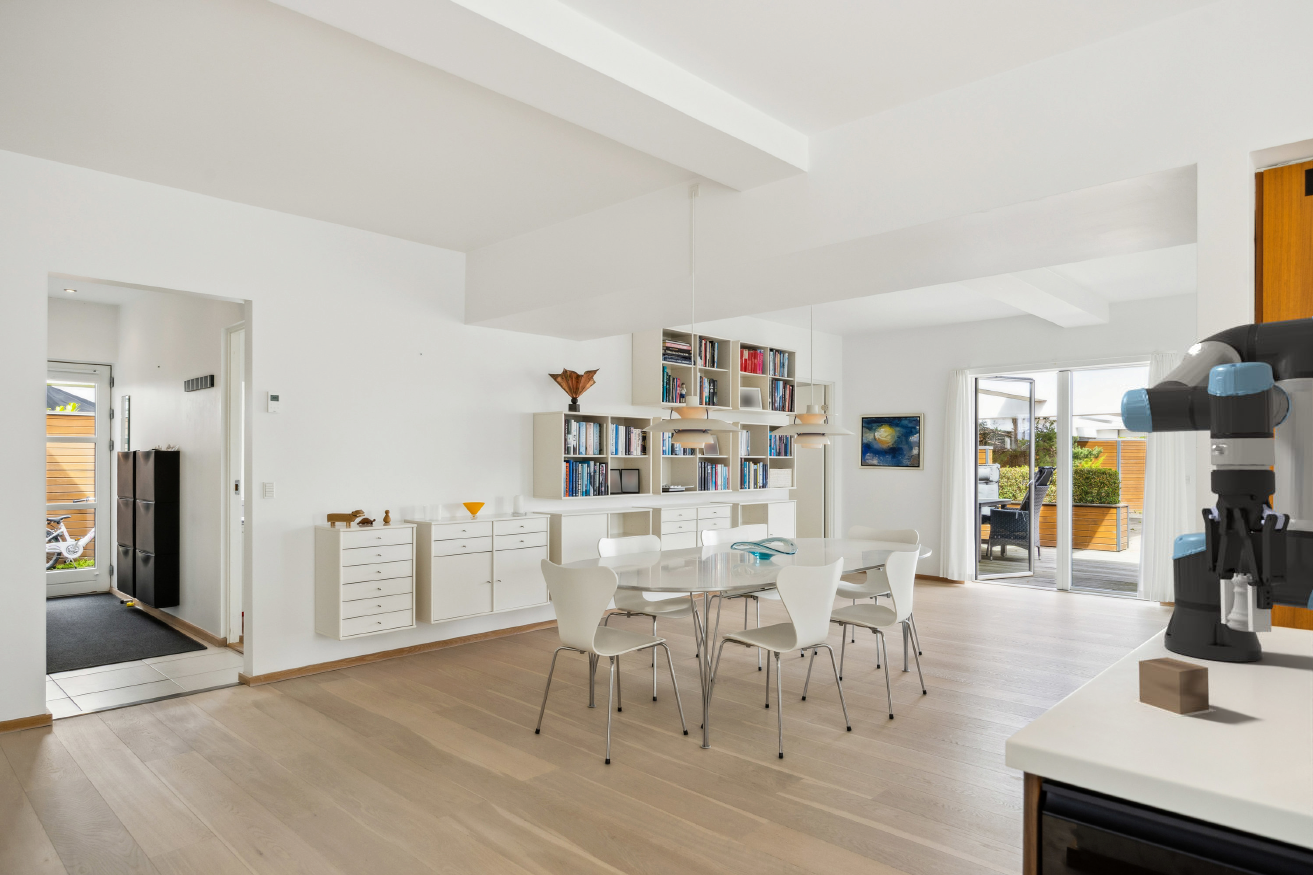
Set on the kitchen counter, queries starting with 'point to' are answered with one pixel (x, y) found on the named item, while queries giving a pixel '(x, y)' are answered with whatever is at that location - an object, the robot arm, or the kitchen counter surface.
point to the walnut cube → (1174, 685)
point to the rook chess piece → (1240, 603)
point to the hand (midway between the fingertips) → (1245, 626)
